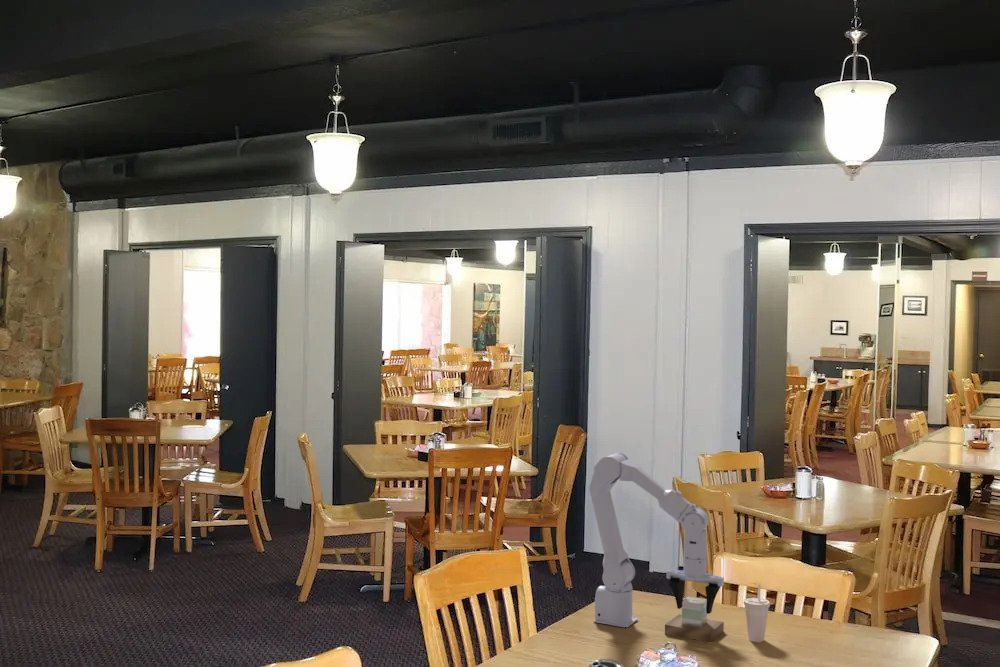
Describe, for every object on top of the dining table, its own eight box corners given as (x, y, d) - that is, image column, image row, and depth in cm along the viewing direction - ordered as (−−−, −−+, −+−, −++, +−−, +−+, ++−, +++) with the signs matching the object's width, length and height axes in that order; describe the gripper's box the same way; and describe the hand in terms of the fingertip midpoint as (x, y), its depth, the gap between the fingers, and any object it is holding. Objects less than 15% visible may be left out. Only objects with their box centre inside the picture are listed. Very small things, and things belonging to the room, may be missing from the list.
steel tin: (681, 624, 245) (682, 601, 245) (687, 619, 250) (687, 596, 250) (701, 628, 243) (701, 604, 243) (707, 622, 248) (707, 598, 248)
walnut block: (664, 636, 246) (664, 624, 246) (678, 625, 254) (679, 614, 254) (710, 644, 240) (710, 632, 239) (723, 633, 248) (723, 621, 248)
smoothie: (770, 644, 238) (771, 588, 238) (743, 643, 239) (744, 586, 239) (768, 636, 244) (769, 581, 244) (742, 634, 246) (743, 579, 245)
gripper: (662, 556, 247) (661, 609, 247) (718, 564, 239) (717, 619, 240) (672, 550, 253) (671, 602, 253) (726, 558, 246) (725, 611, 246)
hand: (694, 610), depth 247 cm, fingers open, 7 cm apart
